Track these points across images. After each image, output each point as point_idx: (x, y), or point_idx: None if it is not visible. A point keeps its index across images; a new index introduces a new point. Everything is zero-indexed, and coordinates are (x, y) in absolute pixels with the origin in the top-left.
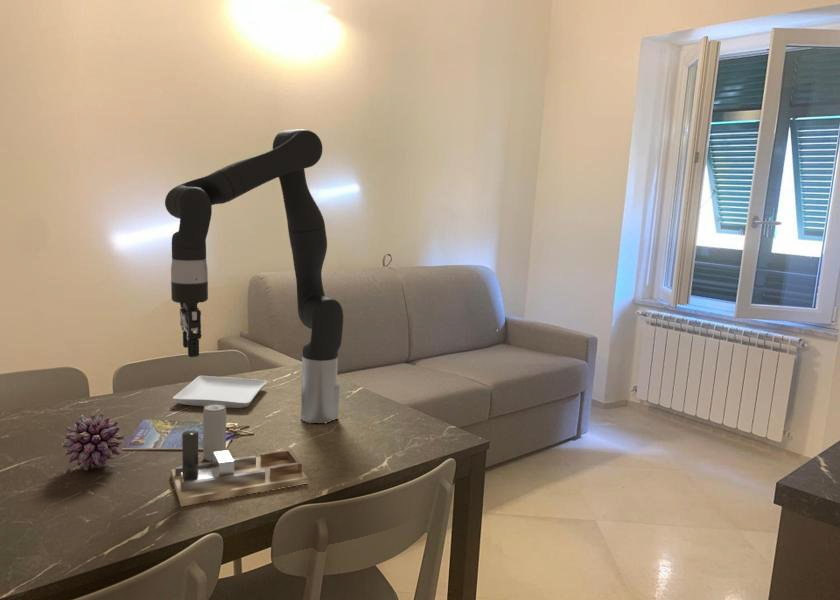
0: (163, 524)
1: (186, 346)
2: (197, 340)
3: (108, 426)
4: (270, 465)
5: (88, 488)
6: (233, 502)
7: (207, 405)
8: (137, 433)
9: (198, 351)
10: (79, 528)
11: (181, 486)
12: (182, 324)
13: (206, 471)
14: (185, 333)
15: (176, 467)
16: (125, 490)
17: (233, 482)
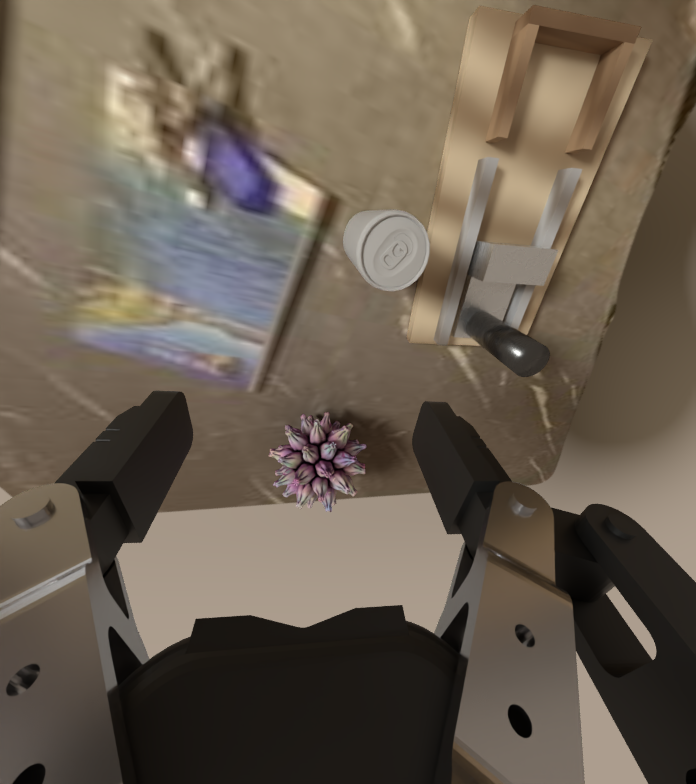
0: (541, 370)
1: (187, 428)
2: (491, 484)
3: (316, 458)
4: (520, 122)
5: (385, 436)
6: (563, 262)
7: (366, 273)
8: (173, 361)
9: (454, 418)
10: None
11: None
12: (142, 642)
13: (480, 293)
14: (146, 515)
15: (441, 343)
16: (417, 400)
17: None
